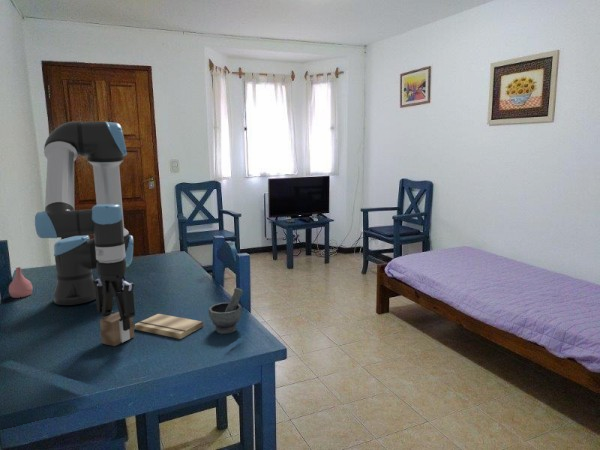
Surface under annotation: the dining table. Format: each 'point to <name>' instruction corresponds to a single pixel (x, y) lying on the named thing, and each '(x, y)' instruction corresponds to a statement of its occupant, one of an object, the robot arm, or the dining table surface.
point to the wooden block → (113, 329)
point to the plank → (169, 325)
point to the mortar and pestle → (227, 313)
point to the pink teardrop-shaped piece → (20, 285)
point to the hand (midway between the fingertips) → (118, 338)
